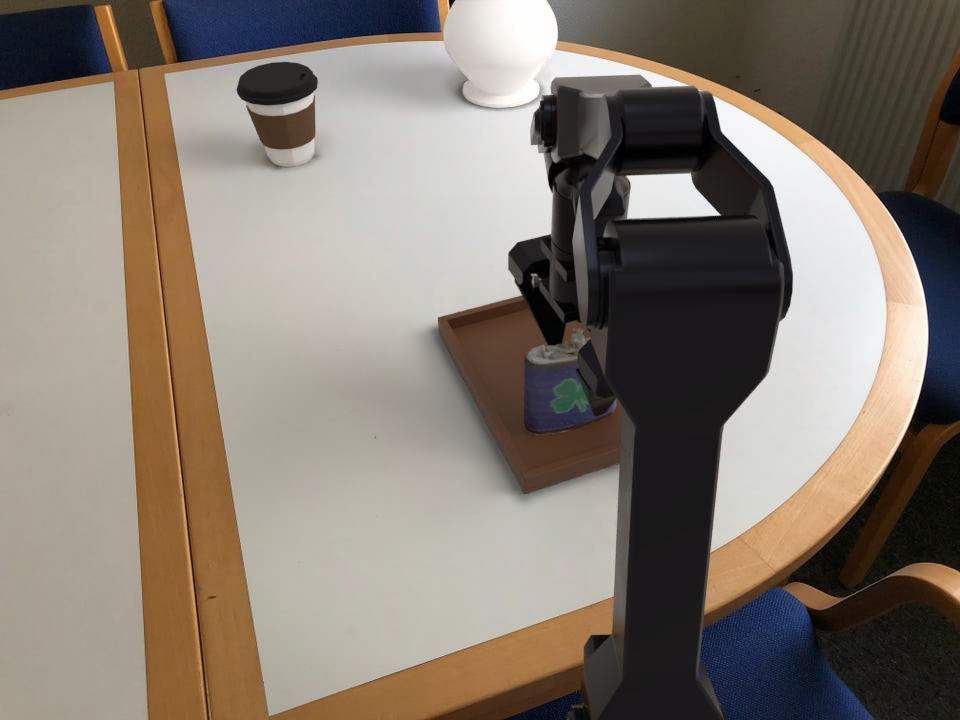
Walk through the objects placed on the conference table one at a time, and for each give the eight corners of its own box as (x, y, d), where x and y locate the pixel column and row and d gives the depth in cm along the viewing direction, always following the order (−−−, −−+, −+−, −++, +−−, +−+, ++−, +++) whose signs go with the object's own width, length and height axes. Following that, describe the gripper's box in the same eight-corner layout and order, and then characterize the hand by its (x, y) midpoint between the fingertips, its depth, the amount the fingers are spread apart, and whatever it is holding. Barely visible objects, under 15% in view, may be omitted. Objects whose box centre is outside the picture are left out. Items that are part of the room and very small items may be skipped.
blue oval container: (609, 396, 77) (619, 311, 70) (621, 417, 75) (633, 332, 68) (519, 419, 75) (520, 334, 68) (530, 441, 73) (531, 356, 66)
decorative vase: (557, 115, 123) (564, -62, 106) (442, 116, 124) (431, -60, 107) (554, 68, 136) (560, -96, 119) (450, 69, 137) (441, -94, 120)
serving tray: (697, 437, 74) (701, 422, 72) (524, 494, 70) (524, 479, 68) (584, 293, 90) (586, 278, 89) (438, 332, 86) (437, 317, 84)
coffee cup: (337, 139, 119) (324, 60, 111) (319, 177, 111) (304, 94, 103) (266, 137, 120) (249, 59, 112) (244, 174, 112) (223, 93, 104)
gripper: (746, 279, 57) (709, 425, 68) (622, 160, 70) (607, 299, 81) (608, 317, 54) (592, 463, 65) (505, 186, 67) (506, 326, 78)
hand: (576, 379), depth 72 cm, fingers open, 9 cm apart
